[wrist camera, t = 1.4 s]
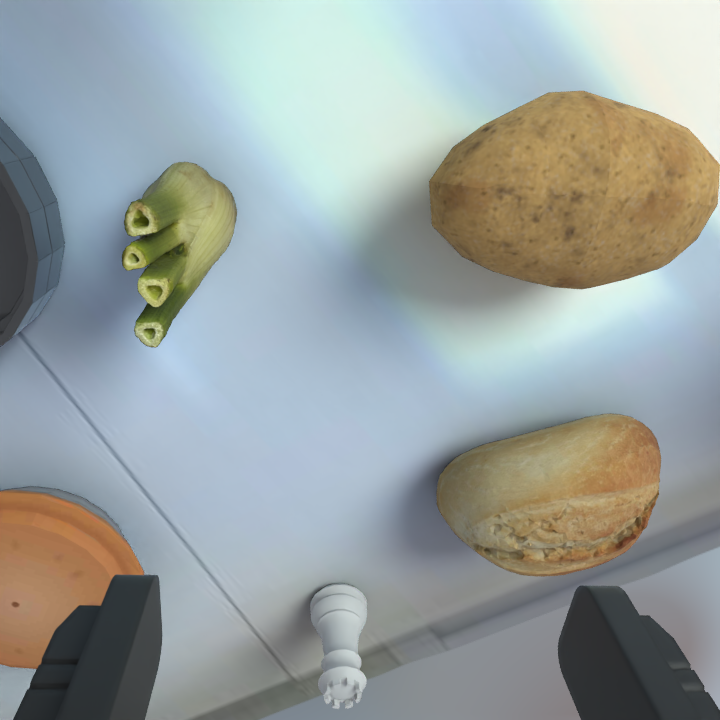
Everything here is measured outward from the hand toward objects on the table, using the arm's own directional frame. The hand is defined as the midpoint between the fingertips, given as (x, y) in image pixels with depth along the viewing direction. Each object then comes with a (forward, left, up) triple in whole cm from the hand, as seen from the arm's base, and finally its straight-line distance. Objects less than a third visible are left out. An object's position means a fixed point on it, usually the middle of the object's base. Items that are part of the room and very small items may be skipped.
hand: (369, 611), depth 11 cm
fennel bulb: (-5, -7, -26) cm, 28 cm away
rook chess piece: (+26, -8, -26) cm, 38 cm away
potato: (-1, +12, -26) cm, 29 cm away
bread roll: (+18, +9, -26) cm, 33 cm away
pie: (+14, -26, -26) cm, 40 cm away
